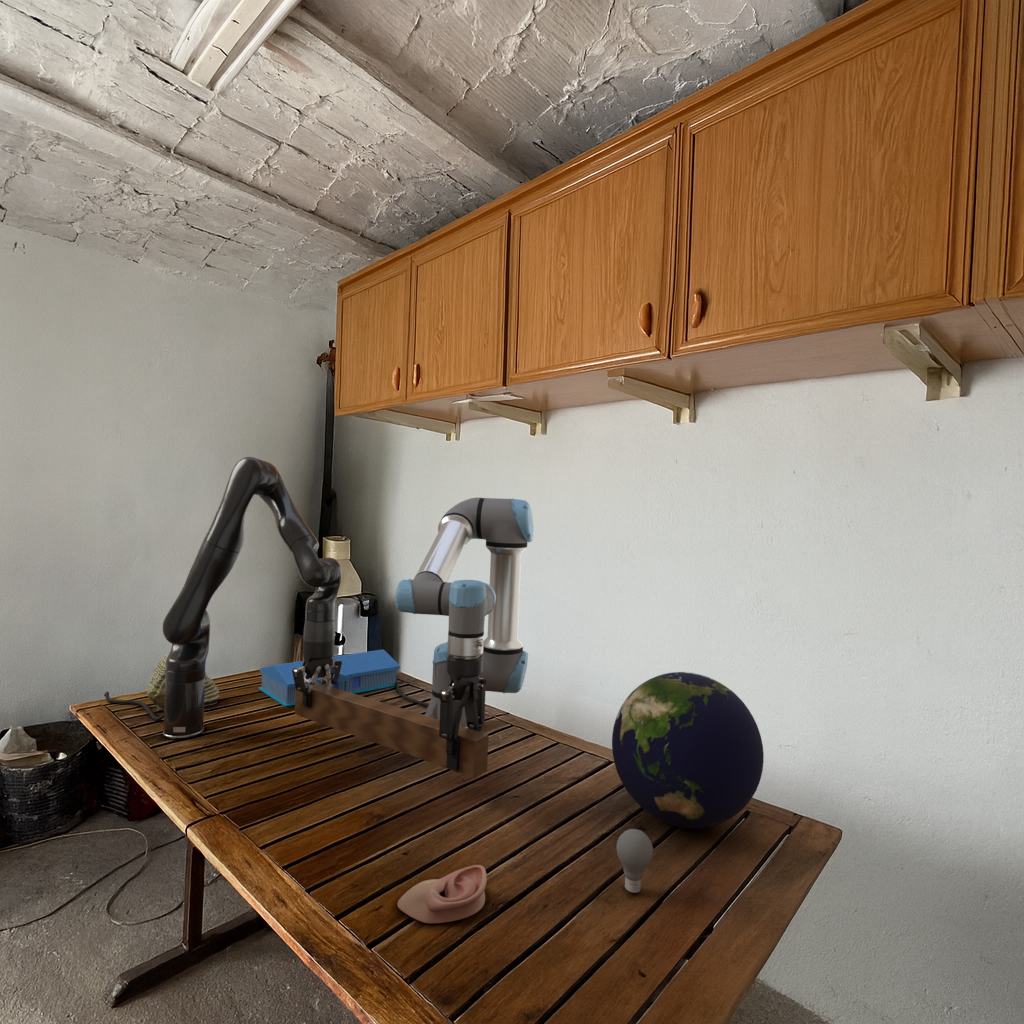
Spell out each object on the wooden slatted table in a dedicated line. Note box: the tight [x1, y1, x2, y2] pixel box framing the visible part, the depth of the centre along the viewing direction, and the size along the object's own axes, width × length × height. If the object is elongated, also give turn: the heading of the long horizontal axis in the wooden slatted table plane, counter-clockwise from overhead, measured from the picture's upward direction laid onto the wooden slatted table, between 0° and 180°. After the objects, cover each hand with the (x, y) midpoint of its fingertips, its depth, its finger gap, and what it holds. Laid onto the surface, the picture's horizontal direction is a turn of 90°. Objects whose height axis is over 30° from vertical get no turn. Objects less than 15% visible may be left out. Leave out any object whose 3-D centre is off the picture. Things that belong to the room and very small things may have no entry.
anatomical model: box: [396, 864, 488, 925], centre depth 101 cm, size 13×4×12 cm
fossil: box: [147, 654, 221, 712], centre depth 185 cm, size 9×18×15 cm, turn 132°
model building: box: [258, 649, 401, 707], centre depth 208 cm, size 39×24×10 cm, turn 132°
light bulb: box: [615, 828, 654, 894], centre depth 106 cm, size 6×6×10 cm
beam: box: [294, 682, 490, 779], centre depth 146 cm, size 57×5×8 cm, turn 56°
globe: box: [611, 671, 765, 829], centre depth 130 cm, size 30×30×30 cm
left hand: (316, 704), depth 159 cm, fingers closed on beam, 4 cm apart
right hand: (461, 764), depth 133 cm, fingers closed on beam, 5 cm apart
